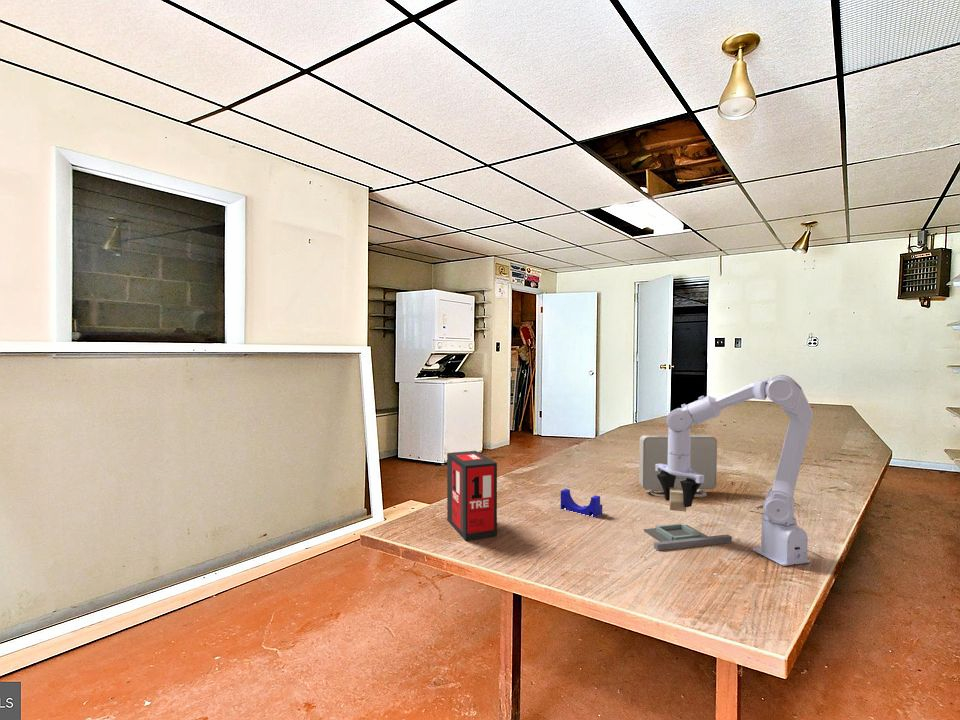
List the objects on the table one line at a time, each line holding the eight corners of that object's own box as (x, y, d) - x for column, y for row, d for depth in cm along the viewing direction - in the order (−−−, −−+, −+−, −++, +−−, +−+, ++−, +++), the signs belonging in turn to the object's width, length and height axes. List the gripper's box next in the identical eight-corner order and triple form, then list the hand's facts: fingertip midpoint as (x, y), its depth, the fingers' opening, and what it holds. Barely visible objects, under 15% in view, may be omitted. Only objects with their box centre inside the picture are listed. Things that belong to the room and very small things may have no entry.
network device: (645, 497, 170) (645, 438, 169) (636, 489, 179) (636, 433, 178) (719, 496, 171) (720, 438, 170) (707, 489, 180) (707, 433, 179)
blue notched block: (602, 514, 153) (602, 495, 153) (595, 518, 150) (595, 498, 150) (567, 506, 161) (568, 487, 161) (560, 509, 158) (560, 490, 157)
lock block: (686, 511, 133) (686, 492, 133) (670, 510, 134) (670, 491, 134) (685, 507, 137) (685, 488, 137) (669, 505, 138) (669, 487, 138)
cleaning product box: (496, 536, 135) (496, 463, 135) (465, 541, 132) (465, 465, 131) (475, 516, 151) (475, 450, 150) (447, 520, 148) (447, 452, 147)
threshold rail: (731, 542, 132) (731, 536, 132) (657, 550, 126) (657, 544, 126) (727, 539, 133) (727, 534, 133) (654, 548, 128) (654, 542, 128)
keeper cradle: (714, 541, 132) (714, 535, 132) (667, 546, 129) (667, 540, 129) (687, 526, 143) (687, 521, 143) (643, 530, 140) (643, 525, 140)
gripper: (712, 457, 131) (711, 508, 131) (668, 446, 143) (667, 493, 144) (693, 459, 127) (692, 512, 128) (650, 449, 140) (649, 497, 141)
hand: (678, 503), depth 136 cm, fingers closed on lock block, 6 cm apart
